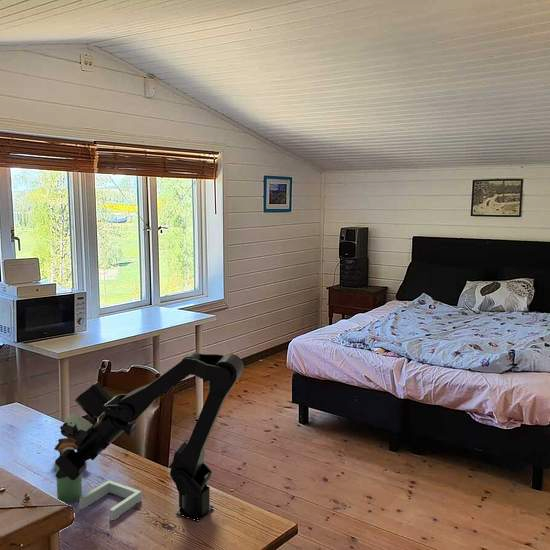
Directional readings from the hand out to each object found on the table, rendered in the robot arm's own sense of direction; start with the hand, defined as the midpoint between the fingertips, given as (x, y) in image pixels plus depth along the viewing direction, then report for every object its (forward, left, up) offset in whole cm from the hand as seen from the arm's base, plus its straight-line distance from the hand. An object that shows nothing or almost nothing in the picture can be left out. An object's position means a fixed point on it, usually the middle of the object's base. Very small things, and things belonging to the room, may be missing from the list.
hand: (63, 470), depth 135 cm
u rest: (-12, -2, -7) cm, 14 cm away
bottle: (-1, 0, -7) cm, 7 cm away
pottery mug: (+11, -13, -7) cm, 19 cm away
